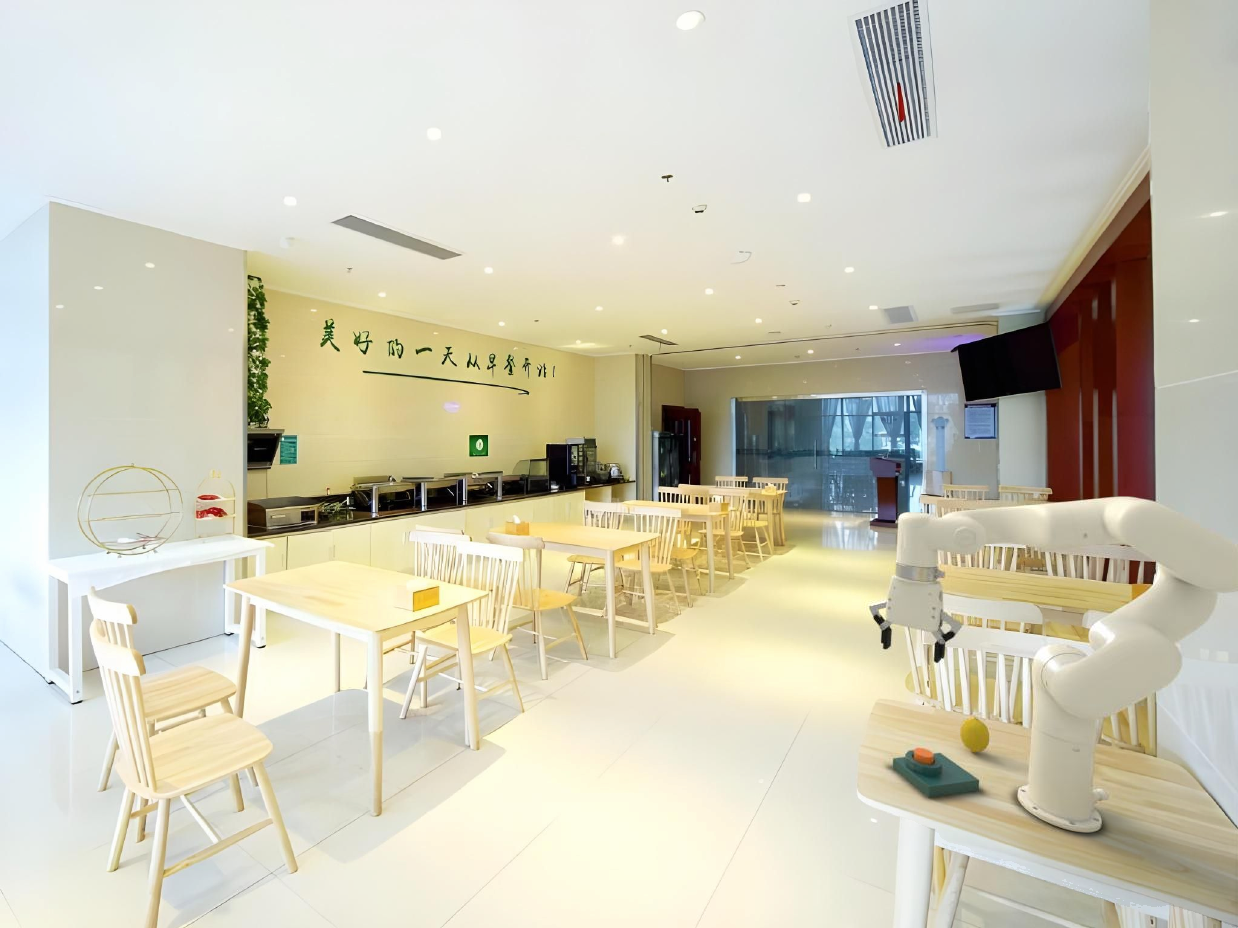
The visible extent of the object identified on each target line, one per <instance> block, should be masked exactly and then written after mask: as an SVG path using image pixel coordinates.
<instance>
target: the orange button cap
mask: <svg viewBox="0 0 1238 928" xmlns="http://www.w3.org/2000/svg"><path fill="white" fill-rule="evenodd" d="M913 750H914V759H915V760H916V761H918V762H920V763H923V764H928V765H930V764H933V761H934V753H933V751H931V750H929V749H927V748H925V747H915V748H914V749H913Z"/></svg>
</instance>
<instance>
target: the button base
mask: <svg viewBox="0 0 1238 928" xmlns="http://www.w3.org/2000/svg"><path fill="white" fill-rule="evenodd" d="M933 754H934V761H933V764H930V765H928V764H923V763H920V762H918V761H916V760H915V759H914V749H910V750H907V752H905V755H904V756H901V757H893V759H892V769H893V770H894V771H896V772H897V773H898V774H899V775H900V776H901V777H903V779H905V780H906V781H908V782H909V783H910V784H911V785H913V786H914V787H915V788H916V789H918V791H920V792H921V794H923V795H925V796H926V797H927V798H935V797H943V796H949V795H956V794H957V795H958V794H963V793H972V792H978V791H980V780H979V779H978V778H977V777H976V776H974V775H973V774H971V773H970V772H969V771H967V770H966V769H964V767H961V766H960V765H958V764H957V763H956V762H954V761H953V760H952V759H950V758H949V757H947V756H945V755H944V754H943V753H941V752H935V753H933Z"/></svg>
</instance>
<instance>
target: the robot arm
mask: <svg viewBox="0 0 1238 928" xmlns="http://www.w3.org/2000/svg"><path fill="white" fill-rule="evenodd" d="M897 521H898V522H897V538H896V556H895V557H896V558H895V561H896V562H895V573H894V574H892V575H891V579H890V583H889V587H888V592H887V597H886V600H884V601H880V602H877V603H876V602H875V603H872V604H871V605H869V607H868V609H869V611H870V613H871V615H872V619H873V621H874V622H875V623H876V624H877V626H878V627H879V629H880V630H881V631H880V632H881V633H880V643H881V644H882V649H883V650H888V649H890V647H892V633H893V630H892V627H891V625H893V624H894V625H897V626H901V627H905V628H910V629H913V630H914V629H915V630H918V631H923V632H928V633H931V635H932V636H933V637H934V638H935V640H936V641H935V642H934V649H933V662H934V663H935V664H939V662H941V660H944V659H945V654H946V643H948V641H950V640H952V639H954V638H955V636H956V635H957V634H958V633H959V632H960V631H961V629H962V627H963V624H962V623H961V622H960V621H959V620H957V619H955V618H954V617H953V616H951V615H950V614H948V613H946V612H945V611H944V592H943V585H942V582H941V581H939V580H938V579H945V577H946V572H945V571H943V570H941V569H939V566H938V561H939V559H938V558H939V551H941V552H946V553H951V554H956V555H959V556H970V555H974V554H977V553H978V552H980V551H982V549H984V547H985V546H986V545H998V544H1007V545H1008V544H1010V545H1011V544H1012V545H1020V546H1027V547H1033V548H1039V549H1051V550H1052V549H1066V548H1077V547H1089V546H1091V547H1092V546H1107V545H1109V546H1110V545H1126V546H1129V547H1132V548H1133V549H1135V550H1136V551H1138V552H1140V553H1141V554H1143V555H1145V556H1147V557H1148V558H1150V560H1152V561H1155V562H1156V564H1157V573H1156V578H1155V580H1154V582H1153V584H1152V585H1151V586H1150V587H1149V588H1148V589H1147V590H1146V591H1144V592H1143V593H1142V594H1140V595H1138V596H1137V597H1136V598H1135V599H1133V600H1131V601H1130V602H1128V603H1126V604H1125V605H1123V606H1121V607H1119V608H1118V609H1116V610H1115V611H1113V612H1111V613H1109V614H1108V615H1106V616H1104V617H1103V618H1101V619H1099V620H1097V621H1096V622H1095V623H1094V624H1093V625H1091V627H1090V629H1089V631H1088V642H1089V645H1090V646H1091V648H1092V650H1094V651H1093V652H1091V653H1089V654H1086V652H1084V651H1082V650H1081V649H1079V648H1077V647H1075V646H1072V645H1069V644H1065V643H1052V644H1048V645H1045V646H1043V647H1041V648H1040V649H1039V650H1038V651H1037V652H1036V654H1035V655H1034V657H1033V660H1032V664H1031V679H1032V681H1031V682H1032V721H1031V731H1030V732H1031V734H1030V749H1029V765H1028V779H1027V780H1028V781H1027V784H1025V785H1022V786H1020V787H1019V788H1018V790H1017V800H1018V802H1019V803H1020V804H1021V806H1022V807H1023V808H1024V809H1025V810H1026V811H1027V812H1029V813H1030V814H1032V815H1033V816H1035V817H1036V818H1038V819H1039V820H1042V821H1044V822H1045V823H1048V824H1050V825H1052V826H1055V827H1058V828H1061V829H1064V830H1068V831H1070V832H1071V831H1072V832H1077V833H1095V832H1097V831H1099V830H1100V829H1101V828H1102V824H1103V823H1102V821H1103V819H1102V816H1101V814H1100V813H1099V811H1097V810H1096V808H1095V804H1097V803H1098V802H1103V801H1104V802H1105V801H1108V800H1109V793H1108V792H1107V791H1106V790H1105V789H1103V788H1095V789H1094V788H1093V786H1094V774H1095V773H1094V772H1095V758H1096V744H1097V733H1098V732H1097V731H1098V720H1102V719H1106V718H1109V717H1111V716H1115V715H1116V714H1118V713H1120V712H1122V711H1124V710H1125V709H1126V710H1127V708H1129V707H1131V706H1133V705H1135V704H1137V703H1139V702H1140V701H1141V702H1142V700H1144V699H1146V698H1148V697H1150V696H1151V695H1153V694H1155V693H1157V692H1159V691H1161V690H1162V689H1163V688H1165V687H1167V686H1169V685H1170V684H1171V683H1172V682H1174V680H1175V679H1177V677H1178V675H1179V674H1180V672H1181V670H1182V666H1183V657H1182V656H1183V655H1182V653H1181V650H1180V649H1179V647H1178V645H1177V643H1179V642H1181V641H1182V640H1183V639H1185V638H1186V637H1188V636H1189V635H1191V634H1193V633H1194V632H1196V631H1197V630H1199V629H1200V628H1202V626H1203V625H1204V624H1206V623H1207V622H1208V621H1209V620H1210V618H1211V616H1212V615H1213V613H1214V611H1215V608H1216V605H1217V602H1218V596H1219V594H1229V593H1235V592H1238V544H1237V543H1235V542H1234V541H1231V540H1230V539H1228V538H1226V537H1225V536H1222V535H1220V534H1219V533H1217V532H1215V531H1213V530H1211V529H1209V528H1207V527H1205V526H1203V525H1202V524H1200V523H1198V522H1196V521H1194V520H1192V519H1191V518H1189V517H1187V516H1185V515H1183V514H1181V513H1180V512H1178V511H1176V510H1174V509H1172V508H1170V507H1168V506H1166V505H1164V504H1162V503H1160V502H1157V501H1154V500H1150V499H1145V498H1139V497H1135V496H1110V497H1101V498H1092V499H1080V500H1072V501H1059V502H1050V503H1048V502H1047V503H1039V504H1038V503H1037V504H1024V505H1016V506H1015V505H1014V506H1001V507H988V508H977V509H968V510H967V509H966V510H965V509H964V510H958V511H952V512H948V513H946V514H943V515H942V516H941V517H939V516H937V515H935V514H932V513H927V512H918V511H917V512H916V511H907V512H903V513H901V514H900V515H899V517H898V520H897ZM882 609H885V618H884V617H883V616H882V614H881V613H880V610H882ZM944 622H945V624H947V625H949V626H950V627H951V628H950V629H949V631H947V632H944V630H943V629H942V627H943V626H944Z"/></svg>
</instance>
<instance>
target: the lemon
mask: <svg viewBox="0 0 1238 928" xmlns="http://www.w3.org/2000/svg"><path fill="white" fill-rule="evenodd" d="M959 730H960V731H959V737H960V740H961V742H962V743H963V745H964V746H965V747H966V748H967V749H969V750H970V751H971V753H974V754H976V753H978V752H983V751H985V750H986V749H987V748H988V746H989V743H990V733H989V729H988V727H987V726H986V724H985V723H984V722H983V721H982V720H980V719H979V718H978V717H970V718H967V719H965V720H964V721H963V722H962V724H961V726H960V729H959Z"/></svg>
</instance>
